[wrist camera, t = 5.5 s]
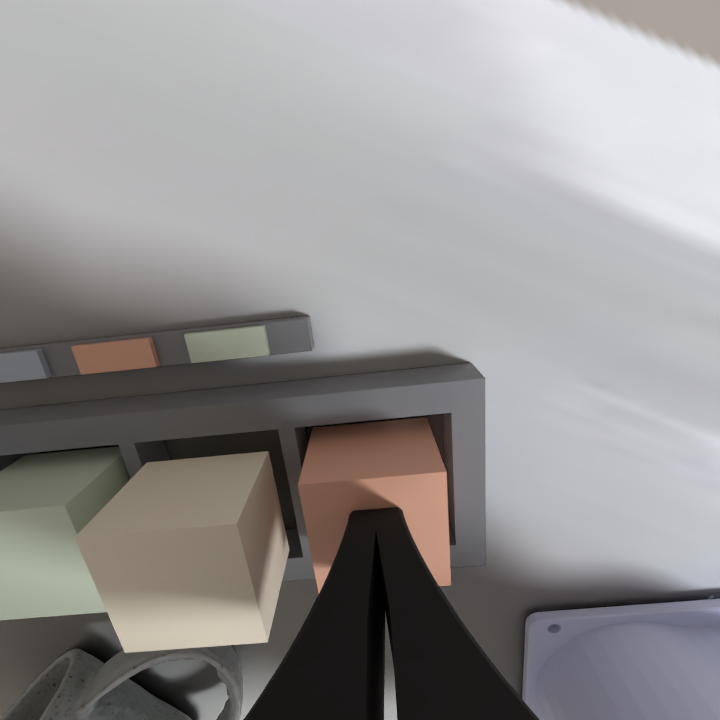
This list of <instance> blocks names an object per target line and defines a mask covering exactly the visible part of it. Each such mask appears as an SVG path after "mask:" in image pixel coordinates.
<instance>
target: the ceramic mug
mask: <svg viewBox="0 0 720 720" xmlns="http://www.w3.org/2000/svg"><path fill="white" fill-rule="evenodd" d="M180 659H199V660H203V661H205V662H209V664H210V665H212V666H214V667H215V668H216V669H217V674H218V677H219V678H220V679H221V681H222V682H223V683H225V684H226V686H227V695H228V697H229V699H228V700H227V701H226V703H225V706H224V709H223V710H222V712H221V713H220V715H219V716H218V718H217V719H216V720H239V719H240V715H241V707H242V701H243V677H242V667H241V664H240V661H239V658H238V655H237V653H236V651H235V650H234V648H233V647H232V646H231V645H226V646H213V647H199V648H185V649H171V650H158V651H144V652H130V653H125V652H124V650H122V651H120V652H119V653H117V654H116V655H114V656H113V657H112V658H111V659H109V660H108V661H107V662H106V663H103V662H102V661H100V660H99V659H97V658H96V657H94V656H93V655H91V654H89V653H87V652H85V651H83V650H81V649H76V648H75V649H72V650H69V651H68V652H66V653H65V654H63V655H62V656H60V657H59V658H57V659H56V660H55V661H54V662H53V663H52V664H51V665H50V666H49V667H48V668H47V669H46V670H44V671H43V672H42V673H41V674H40V675H39V676H38V677H37V679H36V680H35V681H33V682H32V684H31V685H30V686H29V687H28V688H27V689H26V691H25V692H24V693H23V694H22V695H21V696H20V697H19V698H18V700H17V701H16V702H15V703H14V704H13V705H12V706H11V707H10V708H9V710H8V711H7V712H6V713H5V715H4V716H3V717H2V718H1V720H192V719H191V718H190V717H189V716H187V715H186V714H184V713H183V712H181V711H179V710H178V709H176V708H174V707H173V706H171V705H169V704H168V703H166V702H164V701H162V700H160V699H158V698H157V697H155V696H153V695H152V694H150V693H149V692H148V691H146V690H145V689H143V688H142V687H141V686H139V685H138V684H136V683H135V682H133V681H132V680H130V679H129V678H130V677H132V676H133V675H135V674H137V673H138V672H140V671H142V670H144V669H147V668H149V667H151V666H154V665H157V664H160V663H163V662H166V661H177V660H180Z"/></svg>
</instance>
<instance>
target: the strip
mask: <svg viewBox="0 0 720 720" xmlns="http://www.w3.org/2000/svg"><path fill="white" fill-rule="evenodd" d="M313 348H314V342H313V336H312V329H311V322H310V316H301V317H291V318H282V319H273V320H263V321H254V322H244V323H235V324H226V325H216V326H207V327H198V328H188V329H179V330H169V331H160V332H151V333H141V334H132V335H123V336H113V337H104V338H94V339H85V340H76V341H66V342H57V343H48V344H38V345H29V346H19V347H10V348H1V349H0V383H5V382H15V381H24V380H34V379H44V378H52V377H61V376H71V375H83V374H92V373H102V372H112V371H122V370H131V369H141V368H151V367H158V366H168V365H178V364H187V363H199V362H209V361H219V360H228V359H238V358H248V357H257V356H267V355H275V354H285V353H294V352H304V351H312V350H313Z"/></svg>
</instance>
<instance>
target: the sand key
mask: <svg viewBox="0 0 720 720" xmlns="http://www.w3.org/2000/svg"><path fill="white" fill-rule="evenodd" d="M74 538H75V540H76V542H77V545H78V547H79V549H80V551H81V554H82V556H83V558H84V561H85V563H86V565H87V567H88V570H89V572H90V574H91V577H92V579H93V581H94V583H95V586H96V588H97V590H98V593H99V595H100V597H101V599H102V602H103V604H104V606H105V609H106V611H107V613H108V615H109V618H110V620H111V622H112V625H113V627H114V629H115V631H116V634H117V636H118V638H119V641H120V643H121V645H122V647H123V650H124V652H125V653H130V652H144V651H158V650H171V649H185V648H199V647H213V646H226V645H240V644H254V643H267V642H268V639H269V635H270V630H271V626H272V622H273V618H274V613H275V609H276V605H277V600H278V596H279V592H280V588H281V583H282V579H283V575H284V570H285V566H286V562H287V558H288V553H289V545H288V540H287V536H286V531H285V526H284V521H283V517H282V512H281V507H280V503H279V498H278V493H277V489H276V484H275V479H274V474H273V470H272V465H271V460H270V456H269V451H264V452H253V453H243V454H232V455H221V456H210V457H200V458H189V459H178V460H167V461H157V462H147V463H146V464H145V465H144V466H143V467H142V468H141V469H140V470H139V471H138V472H137V473H136V474H135V475H134V476H133V477H132V478H131V479H130V480H129V482H128V483H127V484H126V485H125V486H124V487H123V488H122V489H121V490H120V491H119V492H118V493H117V494H116V495H115V496H114V497H113V498H112V499H111V500H110V501H109V502H108V503H107V504H106V505H105V506H104V507H103V508H102V510H101V511H100V512H99V513H98V514H97V515H96V516H95V517H94V518H93V519H92V520H91V521H90V522H89V523H88V524H87V525H86V526H85V527H84V528H83V529H82V530H81V531H80V532H79V533H78V534H77V535H76V536H75V537H74Z"/></svg>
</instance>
